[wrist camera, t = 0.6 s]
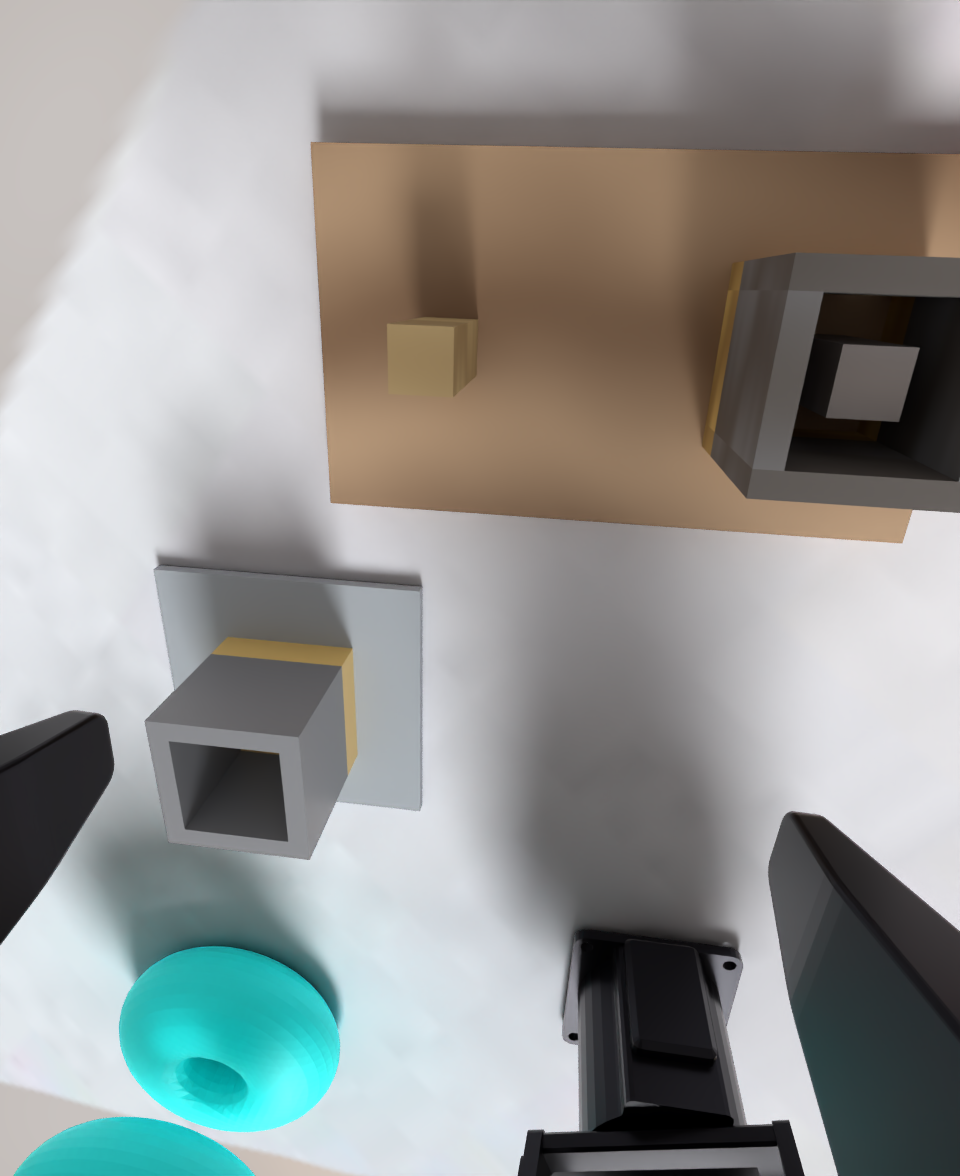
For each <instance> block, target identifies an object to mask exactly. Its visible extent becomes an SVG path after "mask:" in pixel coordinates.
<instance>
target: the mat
mask: <svg viewBox="0 0 960 1176" xmlns="http://www.w3.org/2000/svg"><path fill="white" fill-rule="evenodd" d="M154 575H155V581H156V587H157V593H158V599H159V604H160V610H161V616H162V622H163V627H164V633H165V639H166V645H167V650H168V656H169V662H170V668H171V674H172V679H173V685H174V691H175V690H176V689H177V688H178V687H179V686H180V685H181V684H182V683H183V682H184V681H185V680H186V679H187V678H188V677H189V676H190V675H191V674H192V672H193V671H194V670H195V669H196V668H197V667H198V666H199V665H200V664H201V663H202V662H203V661H204V660H205V659H206V658H207V657H208V656H209V655H210V654H211V653H212V652H213V651H214V650H215V649H216V648H217V647H218V646H219V645H220V644H221V643H222V642H223V641H224V640H225V639H226V638H227V637H235V638H246V639H257V640H267V641H278V642H289V643H300V644H311V645H322V646H333V647H344V648H353V666H354V687H355V709H356V730H357V752H358V755H357V757H356V759H355V762H354V764H353V766H352V768H351V770H350V772H349V775H348V777H347V779H346V781H345V783H344V786H343V788H342V790H341V792H340V794H339V797H338V799H337V801H336V802H344V803H353V804H362V805H370V806H379V807H388V808H397V809H405V810H414V811H420V809H421V806H422V587H420V586H408V585H396V584H384V583H371V582H359V581H347V580H335V579H323V578H310V577H298V576H286V575H274V574H262V573H250V572H237V571H225V570H213V569H201V568H189V567H176V566H164V565H160V566H158V567H157V568H155V569H154Z"/></svg>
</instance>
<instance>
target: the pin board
mask: <svg viewBox="0 0 960 1176" xmlns="http://www.w3.org/2000/svg"><path fill="white" fill-rule="evenodd" d="M311 159H312V176H313V194H314V212H315V230H316V248H317V266H318V283H319V301H320V319H321V337H322V355H323V373H324V391H325V408H326V426H327V444H328V462H329V480H330V498H331V503H339V504H354V505H368V506H382V507H396V508H410V509H424V510H438V511H452V512H466V513H481V514H495V515H509V516H523V517H537V518H551V519H565V520H579V521H593V522H608V523H622V524H636V525H650V526H664V527H678V528H692V529H706V530H720V531H734V532H749V533H763V534H777V535H791V536H805V537H819V538H833V539H847V540H861V541H876V542H890V543H902V542H903V539H904V536H905V533H906V529H907V526H908V523H909V520H910V516H911V513H912V510H925V511H940V512H955V513H960V154H922V153H868V152H813V151H759V150H705V149H651V148H597V147H542V146H488V145H434V144H380V143H326V142H311Z"/></svg>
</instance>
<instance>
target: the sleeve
mask: <svg viewBox="0 0 960 1176" xmlns="http://www.w3.org/2000/svg"><path fill="white" fill-rule="evenodd" d="M145 726H146V731H147V736H148V741H149V746H150V751H151V756H152V761H153V766H154V771H155V776H156V781H157V786H158V791H159V796H160V801H161V807H162V812H163V817H164V822H165V827H166V832H167V837H168V842H169V843H177V844H185V845H193V846H201V847H209V848H218V849H226V850H234V851H242V852H250V853H258V854H266V855H274V856H282V857H291V858H299V859H307V860H310V858H311V856H312V853H313V851H314V849H315V847H316V845H317V843H318V840H319V838H320V836H321V834H322V832H323V829H324V827H325V825H326V823H327V821H328V818H329V816H330V814H331V812H332V810H333V808H334V805H335V803H336V801H337V799H338V797H339V794H340V792H341V790H342V788H343V786H344V783H345V781H346V779H347V777H348V775H349V772H350V770H351V768H352V766H353V764H354V762H355V759H356V757H357V755H358V752H357V730H356V709H355V687H354V666H353V648H344V647H333V646H322V645H311V644H300V643H289V642H278V641H267V640H257V639H246V638H235V637H227V638H226V639H225V640H224V641H223V642H222V643H221V644H220V645H219V646H218V647H217V648H216V649H215V650H214V651H213V652H212V653H211V654H210V655H209V656H208V657H207V658H206V659H205V660H204V661H203V662H202V663H201V664H200V665H199V666H198V667H197V668H196V669H195V670H194V671H193V672H192V674H191V675H190V676H189V677H188V678H187V679H186V680H185V681H184V682H183V683H182V684H181V685H180V686H179V687H178V688H177V689H176V690H175V691H174V692H173V693H172V694H171V695H170V696H169V697H168V698H167V699H166V700H165V701H164V702H163V703H162V704H161V705H160V706H159V707H158V708H157V709H156V710H155V711H154V712H153V713H152V714H151V715H150V716H149V717H148V718H147V719H146V720H145Z"/></svg>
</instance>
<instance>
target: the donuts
mask: <svg viewBox="0 0 960 1176" xmlns="http://www.w3.org/2000/svg"><path fill="white" fill-rule="evenodd" d="M119 1037H120V1046H121V1050H122V1053H123V1056H124V1058H125V1061H126V1063H127V1066H128V1068H129V1070H130V1072H131V1073H132V1075H133V1076H134V1078H135V1079H136V1081H137V1082H138V1083H139V1084H140V1086H141V1087H142V1088H143V1089H144V1090H145V1091H146V1092H147V1093H148V1094H149V1095H150V1096H151V1097H152V1098H153V1099H154V1100H156V1101H157V1102H158V1103H159V1104H161V1105H162V1106H163V1107H165V1108H166V1109H168V1110H169V1111H171V1112H173V1113H174V1114H176V1115H178V1116H180V1117H182V1118H184V1119H186V1120H189V1121H191V1122H194V1123H196V1124H199V1125H202V1126H206V1127H209V1128H213V1129H218V1130H223V1131H233V1132H254V1131H263V1130H269V1129H273V1128H277V1127H280V1126H283V1125H285V1124H287V1123H289V1122H292V1121H294V1120H296V1119H298V1118H299V1117H301V1116H303V1115H304V1114H305V1113H307V1112H308V1111H309V1110H310V1109H312V1108H313V1107H314V1106H315V1105H316V1104H317V1103H318V1102H319V1101H320V1099H321V1098H322V1097H323V1096H324V1094H325V1093H326V1092H327V1090H328V1089H329V1087H330V1085H331V1083H332V1081H333V1079H334V1076H335V1074H336V1070H337V1067H338V1063H339V1055H340V1040H339V1033H338V1029H337V1025H336V1022H335V1019H334V1017H333V1014H332V1012H331V1011H330V1009H329V1007H328V1005H327V1004H326V1002H325V1001H324V999H323V998H322V996H321V995H320V994H319V993H318V992H317V991H316V989H315V988H314V987H313V986H312V985H311V984H310V983H309V982H307V981H306V980H305V979H304V978H303V977H302V976H300V975H299V974H298V973H296V972H295V971H293V970H292V969H290V968H288V967H287V966H285V965H283V964H281V963H280V962H278V961H276V960H274V959H271V958H269V957H267V956H264V955H261V954H258V953H255V952H252V951H248V950H243V949H239V948H233V947H223V946H206V947H196V948H191V949H186V950H182V951H179V952H176V953H173V954H171V955H169V956H167V957H165V958H163V959H161V960H160V961H158V962H156V963H155V964H153V965H152V966H151V967H149V968H148V969H147V970H146V971H145V972H144V973H143V974H142V975H141V976H140V977H139V978H138V979H137V981H136V982H135V983H134V985H133V986H132V988H131V989H130V991H129V993H128V995H127V997H126V999H125V1002H124V1004H123V1007H122V1010H121V1016H120V1022H119ZM14 1176H255V1175H254V1174H253V1172H252V1171H251V1170H250V1169H249V1168H248V1167H247V1166H246V1165H245V1164H244V1163H243V1162H242V1161H241V1160H240V1159H239V1158H238V1157H237V1156H235V1155H234V1154H233V1153H231V1152H230V1151H229V1150H227V1149H226V1148H225V1147H223V1146H222V1145H220V1144H219V1143H217V1142H215V1141H214V1140H212V1139H210V1138H208V1137H206V1136H204V1135H202V1134H200V1133H198V1132H196V1131H193V1130H191V1129H188V1128H185V1127H183V1126H180V1125H176V1124H173V1123H169V1122H165V1121H161V1120H156V1119H149V1118H139V1117H112V1118H103V1119H97V1120H93V1121H89V1122H86V1123H83V1124H80V1125H76V1126H74V1127H71V1128H69V1129H66V1130H64V1131H62V1132H61V1133H59V1134H57V1135H55V1136H54V1137H52V1138H50V1139H49V1140H47V1141H46V1142H44V1143H43V1144H42V1145H41V1146H39V1147H38V1148H37V1149H36V1150H35V1151H34V1152H32V1153H31V1154H30V1155H29V1156H28V1157H27V1159H26V1160H25V1161H24V1162H23V1163H22V1164H21V1166H20V1167H19V1168H18V1169H17V1171H16V1172H15V1174H14Z"/></svg>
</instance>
